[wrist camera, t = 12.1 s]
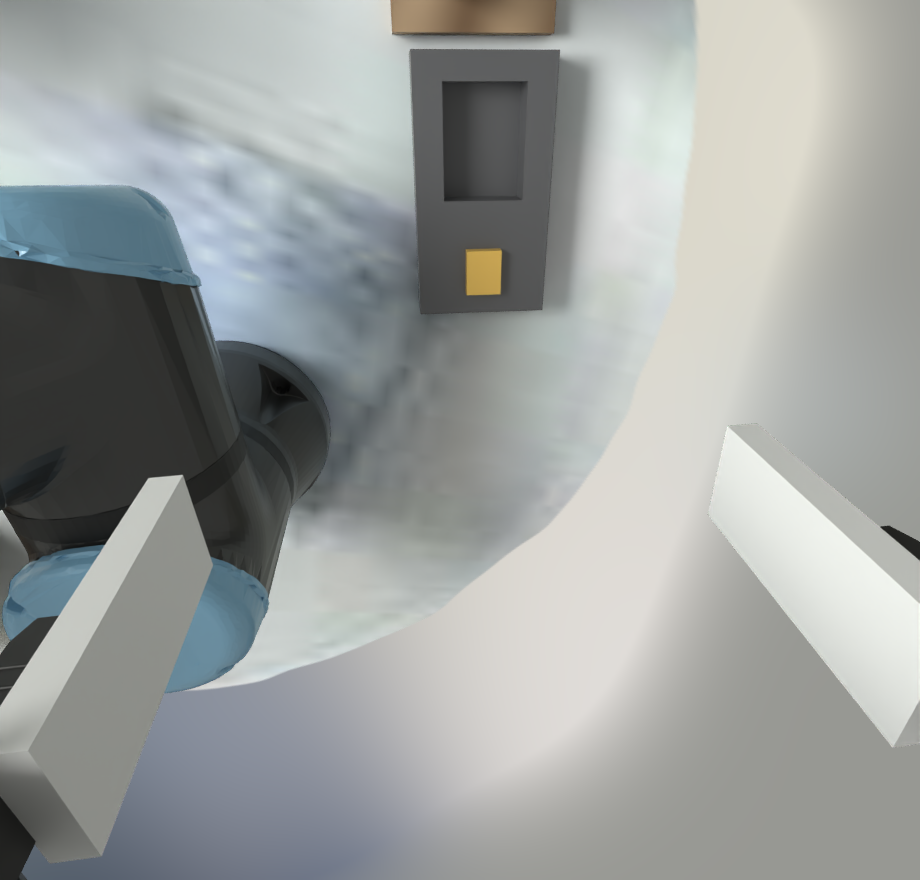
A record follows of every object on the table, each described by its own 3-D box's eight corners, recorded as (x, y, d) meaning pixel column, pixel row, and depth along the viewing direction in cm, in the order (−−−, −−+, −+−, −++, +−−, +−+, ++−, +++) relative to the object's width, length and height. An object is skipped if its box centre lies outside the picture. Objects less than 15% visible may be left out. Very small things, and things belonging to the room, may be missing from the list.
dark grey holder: (419, 302, 44) (421, 317, 41) (409, 53, 36) (410, 47, 33) (533, 298, 45) (544, 313, 42) (548, 54, 37) (563, 48, 34)
